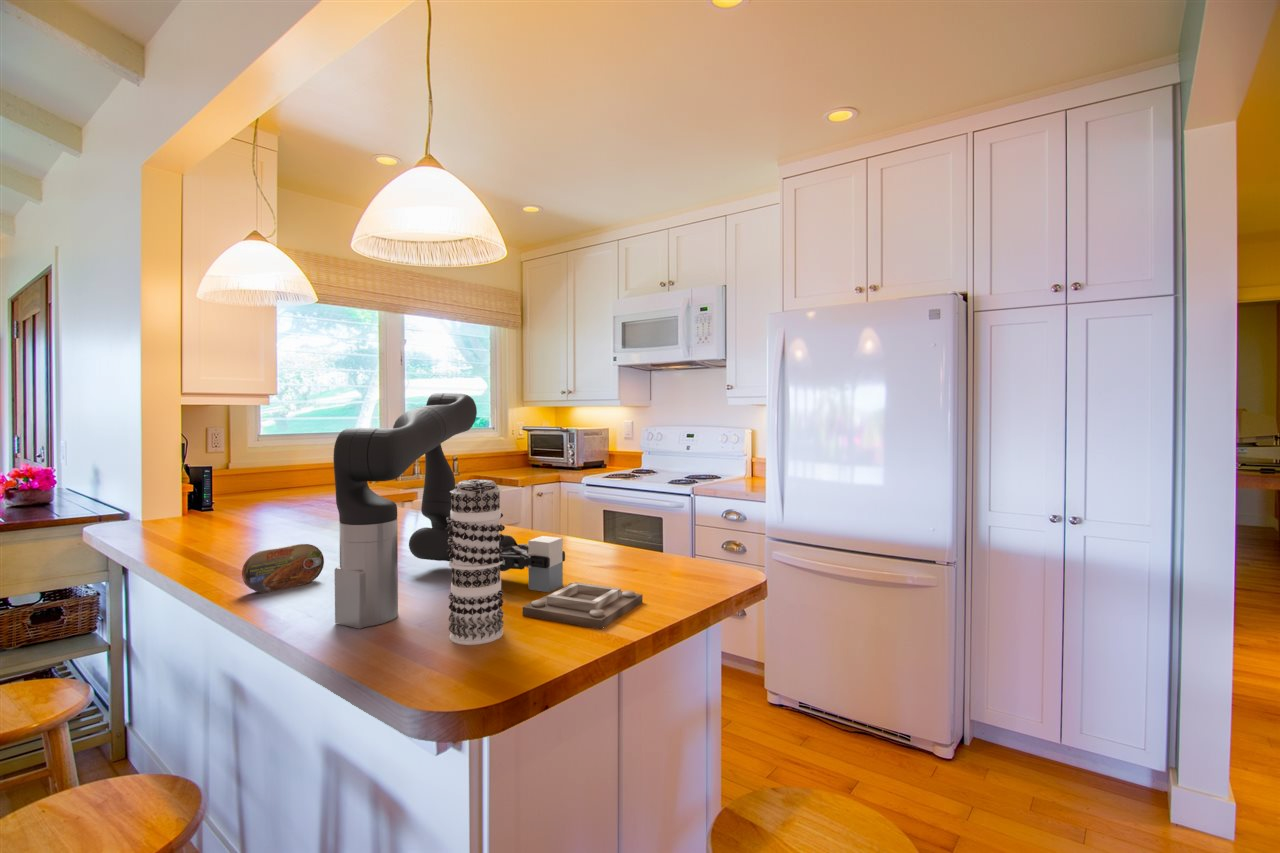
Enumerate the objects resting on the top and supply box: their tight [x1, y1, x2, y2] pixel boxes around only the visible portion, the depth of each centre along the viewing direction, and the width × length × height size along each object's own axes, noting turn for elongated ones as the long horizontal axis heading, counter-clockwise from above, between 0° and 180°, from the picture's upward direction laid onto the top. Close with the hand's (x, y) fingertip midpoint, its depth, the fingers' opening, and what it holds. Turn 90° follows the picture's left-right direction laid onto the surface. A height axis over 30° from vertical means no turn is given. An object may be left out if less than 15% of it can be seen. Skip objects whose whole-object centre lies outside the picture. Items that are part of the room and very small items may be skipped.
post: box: [527, 535, 564, 593], centre depth 124 cm, size 5×5×10 cm
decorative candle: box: [446, 479, 506, 646], centre depth 97 cm, size 9×9×25 cm
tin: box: [241, 543, 325, 594], centre depth 125 cm, size 15×3×8 cm, turn 143°
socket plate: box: [522, 581, 643, 630], centre depth 111 cm, size 16×16×3 cm
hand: (556, 559), depth 123 cm, fingers closed on post, 5 cm apart
